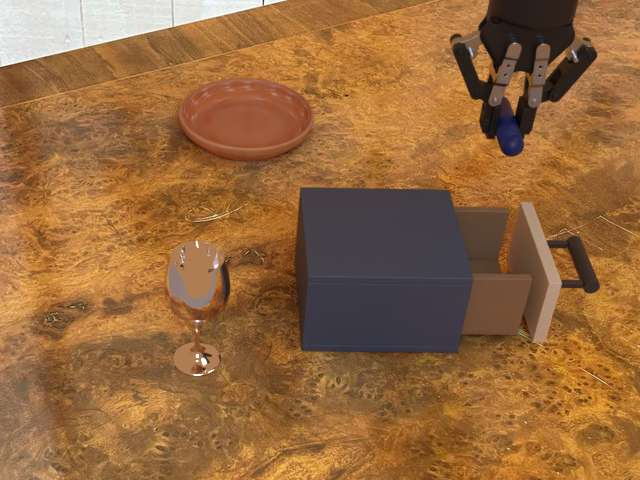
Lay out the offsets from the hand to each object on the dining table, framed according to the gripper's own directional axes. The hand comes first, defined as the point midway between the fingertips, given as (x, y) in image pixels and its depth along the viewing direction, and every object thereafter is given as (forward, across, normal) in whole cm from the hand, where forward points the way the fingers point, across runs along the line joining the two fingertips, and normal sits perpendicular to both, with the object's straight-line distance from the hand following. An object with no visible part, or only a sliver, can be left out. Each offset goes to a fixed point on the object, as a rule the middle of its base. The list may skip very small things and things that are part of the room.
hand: (503, 134), depth 102 cm
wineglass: (+14, -29, -17) cm, 36 cm away
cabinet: (+14, -12, -9) cm, 21 cm away
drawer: (+13, -1, -9) cm, 16 cm away
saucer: (+14, -24, +22) cm, 36 cm away
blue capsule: (0, 0, 0) cm, 0 cm away
